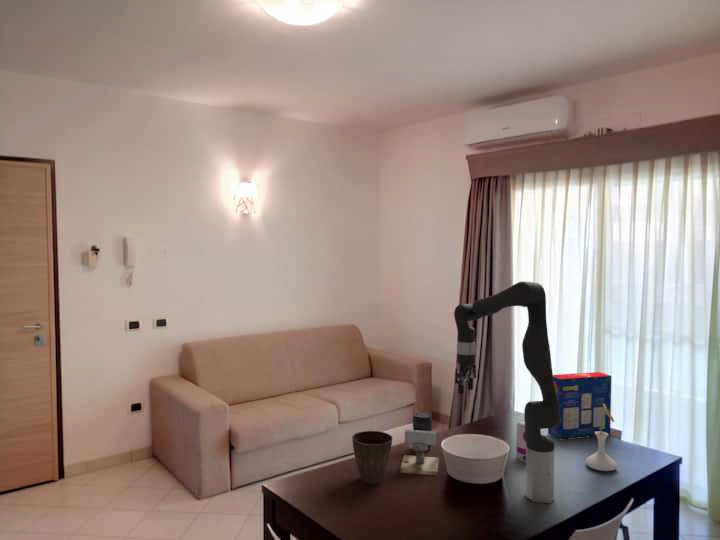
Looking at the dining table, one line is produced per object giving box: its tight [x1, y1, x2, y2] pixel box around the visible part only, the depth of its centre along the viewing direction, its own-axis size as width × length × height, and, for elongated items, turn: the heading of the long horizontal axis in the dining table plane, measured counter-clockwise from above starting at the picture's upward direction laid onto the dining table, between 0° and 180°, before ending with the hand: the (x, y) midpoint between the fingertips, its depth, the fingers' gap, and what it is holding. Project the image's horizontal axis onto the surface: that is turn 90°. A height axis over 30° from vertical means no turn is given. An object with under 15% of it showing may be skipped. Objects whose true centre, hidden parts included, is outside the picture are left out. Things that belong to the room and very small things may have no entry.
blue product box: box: [547, 371, 612, 441], centre depth 246 cm, size 28×8×28 cm, turn 106°
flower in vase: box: [584, 403, 618, 472], centre depth 208 cm, size 13×11×25 cm
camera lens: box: [412, 412, 433, 453], centre depth 226 cm, size 8×8×15 cm
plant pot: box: [351, 430, 394, 485], centre depth 194 cm, size 15×15×16 cm
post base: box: [399, 451, 440, 476], centre depth 207 cm, size 14×14×7 cm
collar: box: [404, 429, 437, 453], centre depth 207 cm, size 12×6×7 cm, turn 79°
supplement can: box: [515, 419, 526, 462], centre depth 216 cm, size 8×8×15 cm
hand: (465, 391), depth 216 cm, fingers open, 8 cm apart
